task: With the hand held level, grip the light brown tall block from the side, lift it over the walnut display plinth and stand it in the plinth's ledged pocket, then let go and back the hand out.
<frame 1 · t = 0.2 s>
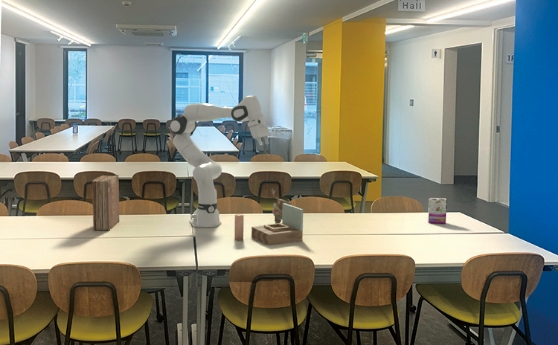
hand: (264, 144, 323), 52 cm above the table, tool tilted 20°, fingers open, 8 cm apart
book: (106, 226, 335), on the table
light brown tall block: (238, 239, 310), on the table
display plinth: (276, 238, 313), on the table
brown figurine: (279, 229, 337), on the table
candy bar box: (436, 223, 363), on the table
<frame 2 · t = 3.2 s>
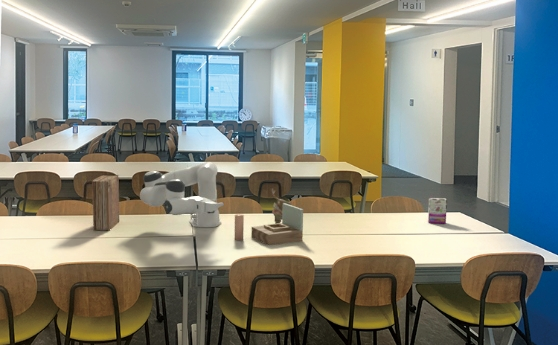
hand: (219, 202, 301), 22 cm above the table, tool horizontal, fingers open, 8 cm apart
nothing on the table moved.
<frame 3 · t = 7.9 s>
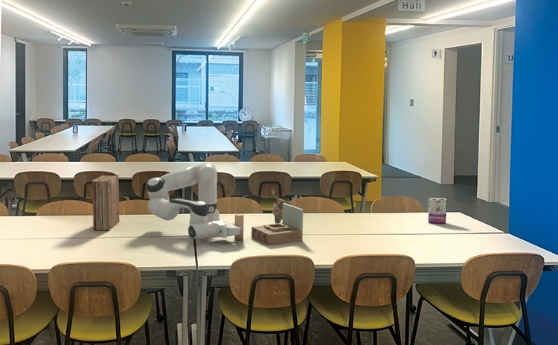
hand: (240, 226, 309), 8 cm above the table, tool horizontal, fingers closed on light brown tall block, 5 cm apart
light brown tall block: (238, 239, 310), on the table, touching gripper
everything else where it was.
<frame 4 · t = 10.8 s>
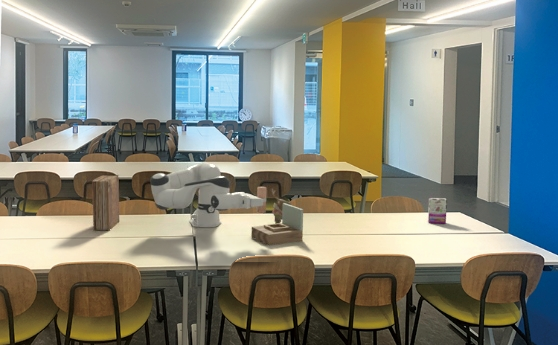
hand: (263, 198, 307), 24 cm above the table, tool horizontal, fingers closed on light brown tall block, 5 cm apart
light brown tall block: (261, 212, 307), point 16 cm above the table, touching gripper
everything else where it was.
when the fingers open (14 cm above the table, at t = 14.1 s): light brown tall block stays where it is, resting on display plinth.
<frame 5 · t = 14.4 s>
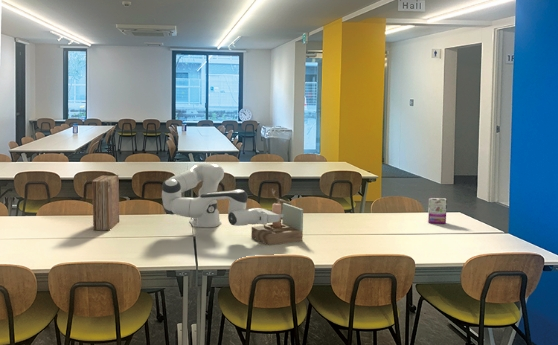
hand: (278, 213, 312), 14 cm above the table, tool horizontal, fingers open, 8 cm apart
light brown tall block: (276, 228, 312), point 6 cm above the table, touching display plinth
everything else where it was.
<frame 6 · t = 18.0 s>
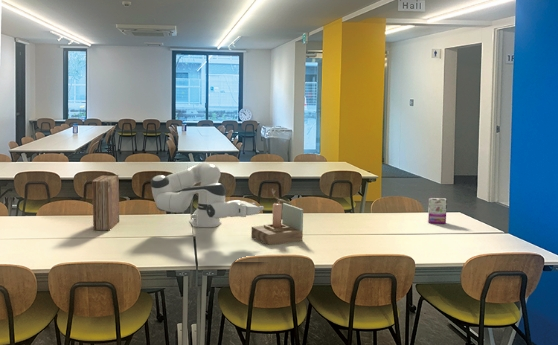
hand: (259, 206, 304), 20 cm above the table, tool horizontal, fingers open, 8 cm apart
nothing on the table moved.
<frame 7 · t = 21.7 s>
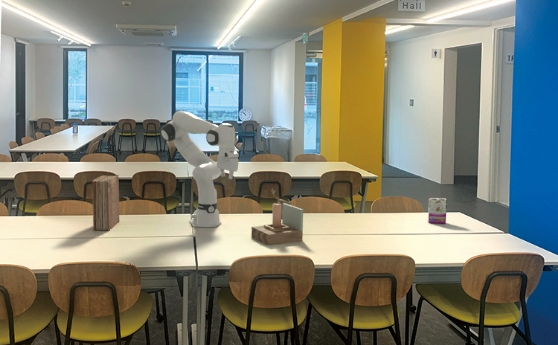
hand: (226, 177, 306), 35 cm above the table, tool pointing down, fingers open, 8 cm apart
nothing on the table moved.
at the end: light brown tall block 0.1 cm off-centre on the display plinth, point 6.0 cm above the display plinth's base; light brown tall block tilted 1°; the gripper is holding nothing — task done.
